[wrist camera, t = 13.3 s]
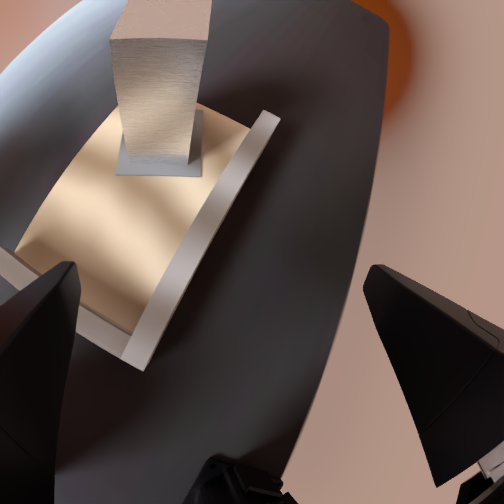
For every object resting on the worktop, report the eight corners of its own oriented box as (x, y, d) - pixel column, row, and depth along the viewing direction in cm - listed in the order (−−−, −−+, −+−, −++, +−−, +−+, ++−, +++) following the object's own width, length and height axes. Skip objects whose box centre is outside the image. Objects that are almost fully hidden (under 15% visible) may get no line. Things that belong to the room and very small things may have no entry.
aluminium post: (187, 164, 23) (207, 40, 11) (129, 163, 21) (109, 39, 10) (190, 118, 24) (212, -3, 12) (137, 117, 22) (131, -5, 11)
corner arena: (148, 363, 20) (143, 371, 16) (11, 272, 18) (-15, 261, 15) (266, 145, 26) (280, 118, 22) (143, 86, 25) (142, 56, 21)
